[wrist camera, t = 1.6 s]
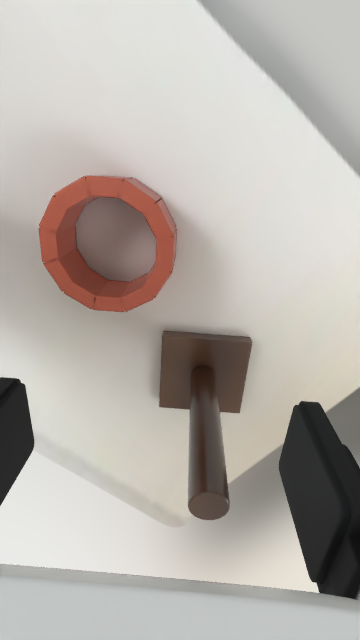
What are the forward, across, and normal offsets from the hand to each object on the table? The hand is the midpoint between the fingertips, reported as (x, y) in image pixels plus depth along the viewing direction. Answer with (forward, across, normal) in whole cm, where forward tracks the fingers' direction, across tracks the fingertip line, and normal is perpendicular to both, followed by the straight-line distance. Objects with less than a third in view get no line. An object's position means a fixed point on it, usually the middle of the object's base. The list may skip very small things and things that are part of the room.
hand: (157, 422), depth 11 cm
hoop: (+18, +5, -3) cm, 19 cm away
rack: (+18, -3, +9) cm, 20 cm away
